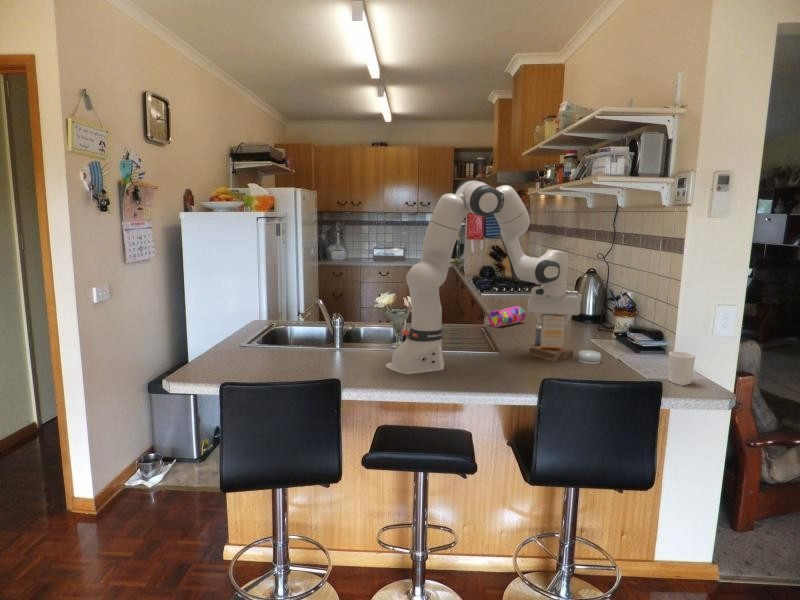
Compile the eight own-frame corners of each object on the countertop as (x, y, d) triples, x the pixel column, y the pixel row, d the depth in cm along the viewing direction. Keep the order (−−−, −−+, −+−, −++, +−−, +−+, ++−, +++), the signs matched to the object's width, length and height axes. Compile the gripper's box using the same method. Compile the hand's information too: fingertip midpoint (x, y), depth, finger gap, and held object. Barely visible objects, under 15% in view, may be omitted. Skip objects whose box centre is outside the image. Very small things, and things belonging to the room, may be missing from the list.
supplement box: (560, 345, 211) (562, 314, 209) (562, 349, 207) (565, 316, 204) (539, 345, 212) (541, 313, 210) (541, 348, 207) (543, 315, 205)
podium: (553, 362, 202) (553, 354, 201) (528, 355, 211) (529, 347, 211) (572, 357, 209) (573, 349, 208) (547, 351, 218) (548, 343, 218)
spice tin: (541, 348, 222) (542, 328, 221) (531, 345, 227) (532, 325, 225) (549, 346, 226) (551, 326, 224) (539, 344, 230) (541, 324, 228)
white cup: (670, 385, 176) (673, 356, 175) (663, 378, 184) (665, 350, 182) (695, 387, 175) (699, 358, 173) (687, 379, 183) (690, 352, 181)
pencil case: (502, 329, 258) (502, 311, 257) (486, 326, 265) (487, 308, 264) (526, 323, 273) (527, 306, 272) (511, 320, 280) (512, 304, 278)
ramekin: (592, 365, 198) (593, 356, 198) (574, 360, 205) (574, 352, 204) (604, 362, 203) (605, 353, 203) (586, 357, 210) (586, 349, 209)
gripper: (581, 290, 207) (578, 324, 209) (528, 288, 211) (526, 321, 213) (583, 292, 201) (580, 327, 203) (528, 290, 204) (526, 324, 207)
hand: (552, 324), depth 208 cm, fingers closed on supplement box, 8 cm apart
